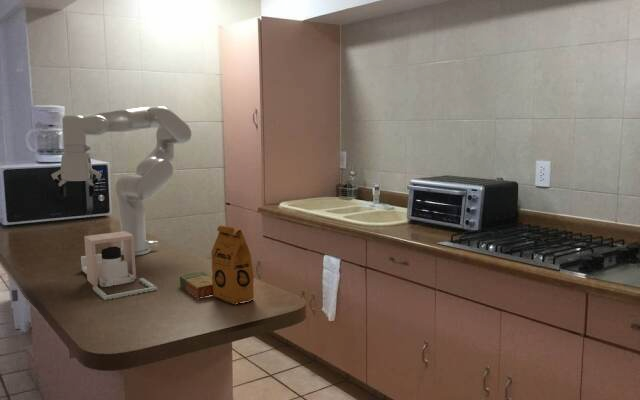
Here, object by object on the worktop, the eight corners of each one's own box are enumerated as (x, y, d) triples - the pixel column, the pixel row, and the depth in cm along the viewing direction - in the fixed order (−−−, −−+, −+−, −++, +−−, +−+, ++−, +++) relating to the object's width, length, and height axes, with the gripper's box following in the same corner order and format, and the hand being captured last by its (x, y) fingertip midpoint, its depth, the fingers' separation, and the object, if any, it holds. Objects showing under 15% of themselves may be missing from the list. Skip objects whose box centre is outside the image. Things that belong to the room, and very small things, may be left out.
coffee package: (230, 308, 161) (227, 232, 157) (208, 298, 170) (206, 226, 167) (259, 301, 167) (257, 228, 164) (237, 291, 176) (235, 222, 173)
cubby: (127, 273, 198) (125, 231, 195) (136, 279, 190) (133, 235, 188) (87, 280, 190) (84, 236, 188) (94, 286, 183) (91, 240, 180)
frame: (143, 280, 189) (143, 277, 189) (157, 290, 178) (157, 287, 178) (92, 289, 179) (92, 286, 179) (104, 300, 169) (104, 296, 169)
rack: (111, 265, 208) (110, 252, 207) (134, 281, 187) (133, 267, 186) (81, 270, 202) (80, 256, 201) (102, 287, 181) (101, 272, 180)
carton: (197, 300, 169) (196, 287, 168) (179, 287, 182) (178, 274, 182) (223, 295, 173) (222, 282, 173) (203, 283, 187) (203, 270, 186)
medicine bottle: (128, 282, 188) (126, 246, 187) (109, 287, 183) (107, 251, 181) (116, 278, 193) (114, 244, 191) (97, 283, 187) (94, 248, 185)
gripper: (102, 149, 210) (104, 194, 212) (53, 149, 207) (56, 195, 210) (97, 150, 202) (99, 197, 204) (46, 150, 200) (49, 198, 202)
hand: (77, 196), depth 207 cm, fingers open, 9 cm apart
